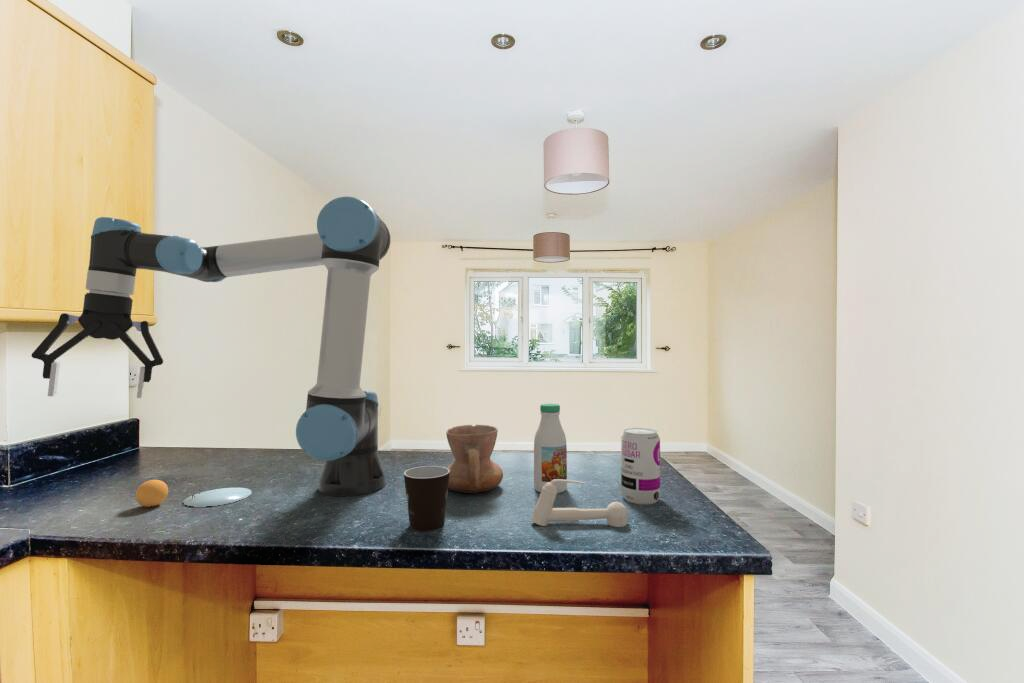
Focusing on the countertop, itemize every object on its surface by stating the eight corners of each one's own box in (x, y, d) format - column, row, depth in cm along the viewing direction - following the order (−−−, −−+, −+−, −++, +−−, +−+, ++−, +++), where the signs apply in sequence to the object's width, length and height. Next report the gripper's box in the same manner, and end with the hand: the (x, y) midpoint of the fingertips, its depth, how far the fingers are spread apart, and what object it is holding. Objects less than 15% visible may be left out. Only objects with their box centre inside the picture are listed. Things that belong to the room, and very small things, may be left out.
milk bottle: (529, 492, 107) (529, 405, 107) (540, 483, 114) (539, 401, 114) (561, 496, 104) (561, 407, 104) (570, 486, 111) (570, 403, 111)
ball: (170, 500, 102) (170, 475, 102) (165, 507, 97) (165, 481, 97) (139, 504, 100) (139, 478, 100) (132, 512, 95) (132, 485, 95)
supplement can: (662, 496, 104) (661, 429, 104) (657, 507, 96) (656, 435, 96) (625, 491, 107) (625, 426, 107) (618, 502, 100) (617, 432, 100)
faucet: (620, 553, 86) (637, 502, 86) (531, 523, 86) (548, 472, 86) (615, 543, 90) (631, 495, 90) (530, 515, 90) (546, 466, 90)
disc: (252, 485, 113) (252, 484, 113) (250, 501, 101) (250, 500, 101) (188, 493, 107) (188, 492, 107) (177, 511, 95) (177, 510, 95)
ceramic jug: (444, 478, 118) (443, 423, 118) (501, 476, 119) (500, 421, 119) (438, 504, 100) (437, 438, 100) (505, 501, 101) (504, 436, 101)
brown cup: (440, 535, 83) (440, 479, 83) (395, 531, 84) (395, 477, 84) (460, 512, 94) (460, 463, 94) (420, 509, 96) (420, 461, 96)
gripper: (183, 303, 106) (172, 395, 106) (30, 285, 92) (16, 391, 91) (183, 302, 100) (171, 400, 99) (18, 283, 85) (4, 397, 85)
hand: (97, 396), depth 95 cm, fingers open, 13 cm apart
